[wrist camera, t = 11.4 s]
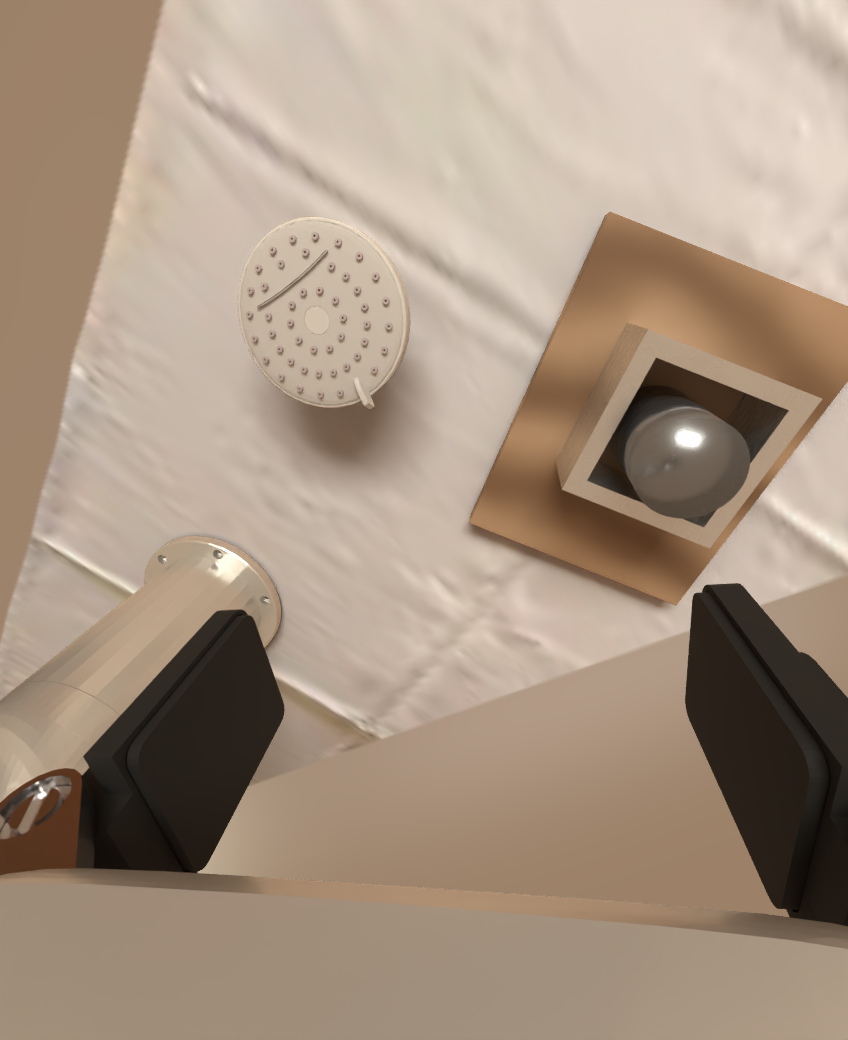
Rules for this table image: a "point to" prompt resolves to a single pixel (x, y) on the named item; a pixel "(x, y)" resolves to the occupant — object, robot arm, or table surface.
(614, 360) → the board
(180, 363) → the table surface
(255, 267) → the showerhead
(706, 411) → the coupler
